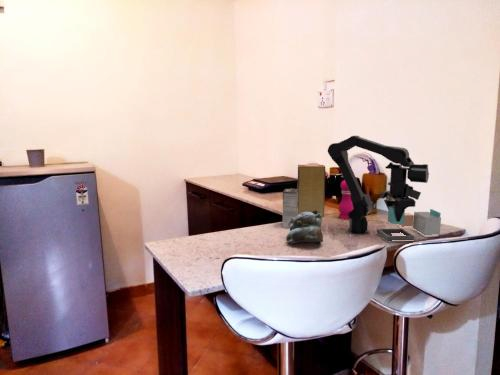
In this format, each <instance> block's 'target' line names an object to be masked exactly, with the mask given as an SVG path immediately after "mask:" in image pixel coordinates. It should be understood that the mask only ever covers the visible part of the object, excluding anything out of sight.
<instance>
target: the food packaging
mask: <svg viewBox="0 0 500 375" xmlns="http://www.w3.org/2000/svg"><path fill="white" fill-rule="evenodd" d="M296 189H299V200H298V214H300V213H303V212H313V211H315V210H316V211H317V213H318V214H321V215H322V218H325V203H326V202H325V199H326V198H325V196H326V195H325V194H326V165H324V164H298V165H297V188H296Z"/></svg>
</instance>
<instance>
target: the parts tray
mask: <svg viewBox="0 0 500 375" xmlns="http://www.w3.org/2000/svg"><path fill="white" fill-rule="evenodd" d="M400 232H401V233H403V234H404V235H406V236H392V234H391V233H400ZM377 234H378V235H377ZM376 235H377V236H379V235H380V236H381V237H382V238H381V237H380V236H379V237H380V238H381V239H383V238H384V239H385V240H387V241H392V240H414V241H415V235H413V234H412V233H410V232H408V231H407V230H406V229H402V228H377V229H376ZM384 239H383V240H384ZM385 240H384V241H385Z"/></svg>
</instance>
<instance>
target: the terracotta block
mask: <svg viewBox="0 0 500 375" xmlns="http://www.w3.org/2000/svg"><path fill="white" fill-rule="evenodd" d="M413 221H414V214H412V213H410V212H405V215H404V224H399V225H401V226H402V227H404V226H413Z"/></svg>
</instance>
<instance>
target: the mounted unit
mask: <svg viewBox="0 0 500 375" xmlns="http://www.w3.org/2000/svg"><path fill="white" fill-rule="evenodd" d="M413 215H414V217H413V228H414V229H416V230H417V231H419V232H421V233H422V234H424V235H432V234H441V225H442V224H441V223H442V217H441V212H439V211H437V210H435V209H431V208H430V209H429V211H414V212H413Z"/></svg>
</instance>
